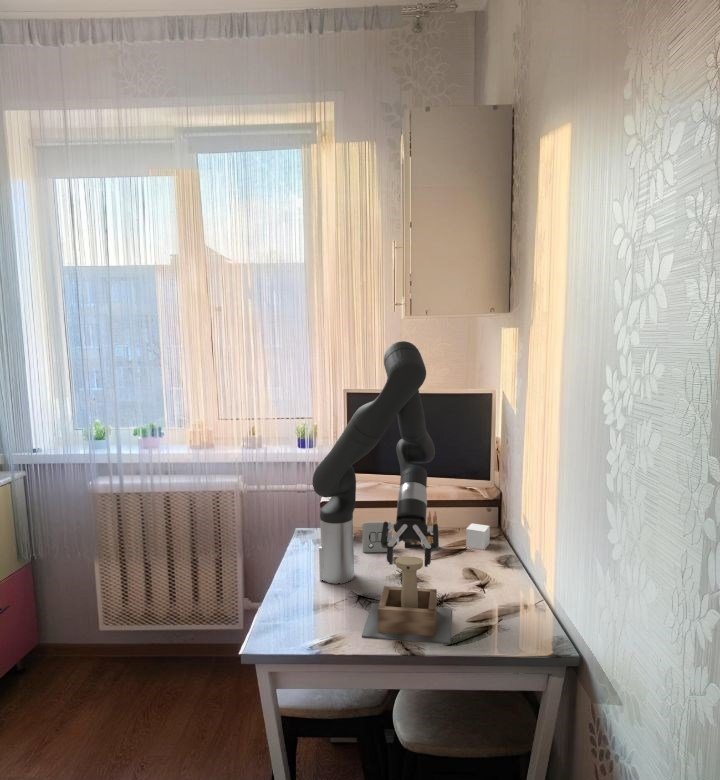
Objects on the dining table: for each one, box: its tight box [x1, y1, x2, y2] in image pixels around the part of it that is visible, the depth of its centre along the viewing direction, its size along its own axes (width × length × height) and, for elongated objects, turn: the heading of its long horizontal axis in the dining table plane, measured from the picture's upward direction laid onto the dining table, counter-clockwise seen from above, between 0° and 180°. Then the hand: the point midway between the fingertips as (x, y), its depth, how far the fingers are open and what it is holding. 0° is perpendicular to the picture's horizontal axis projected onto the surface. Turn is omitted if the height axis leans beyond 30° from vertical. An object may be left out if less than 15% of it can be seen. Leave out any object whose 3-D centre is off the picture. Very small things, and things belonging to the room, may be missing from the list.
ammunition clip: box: [404, 510, 438, 549], centre depth 187 cm, size 11×2×12 cm, turn 85°
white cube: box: [465, 523, 491, 551], centre depth 188 cm, size 6×6×6 cm
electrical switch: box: [361, 521, 393, 553], centre depth 186 cm, size 9×5×9 cm, turn 90°
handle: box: [395, 555, 424, 608], centre depth 139 cm, size 5×6×15 cm
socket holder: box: [361, 585, 452, 645], centre depth 139 cm, size 20×16×6 cm
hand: (408, 564), depth 141 cm, fingers open, 8 cm apart
